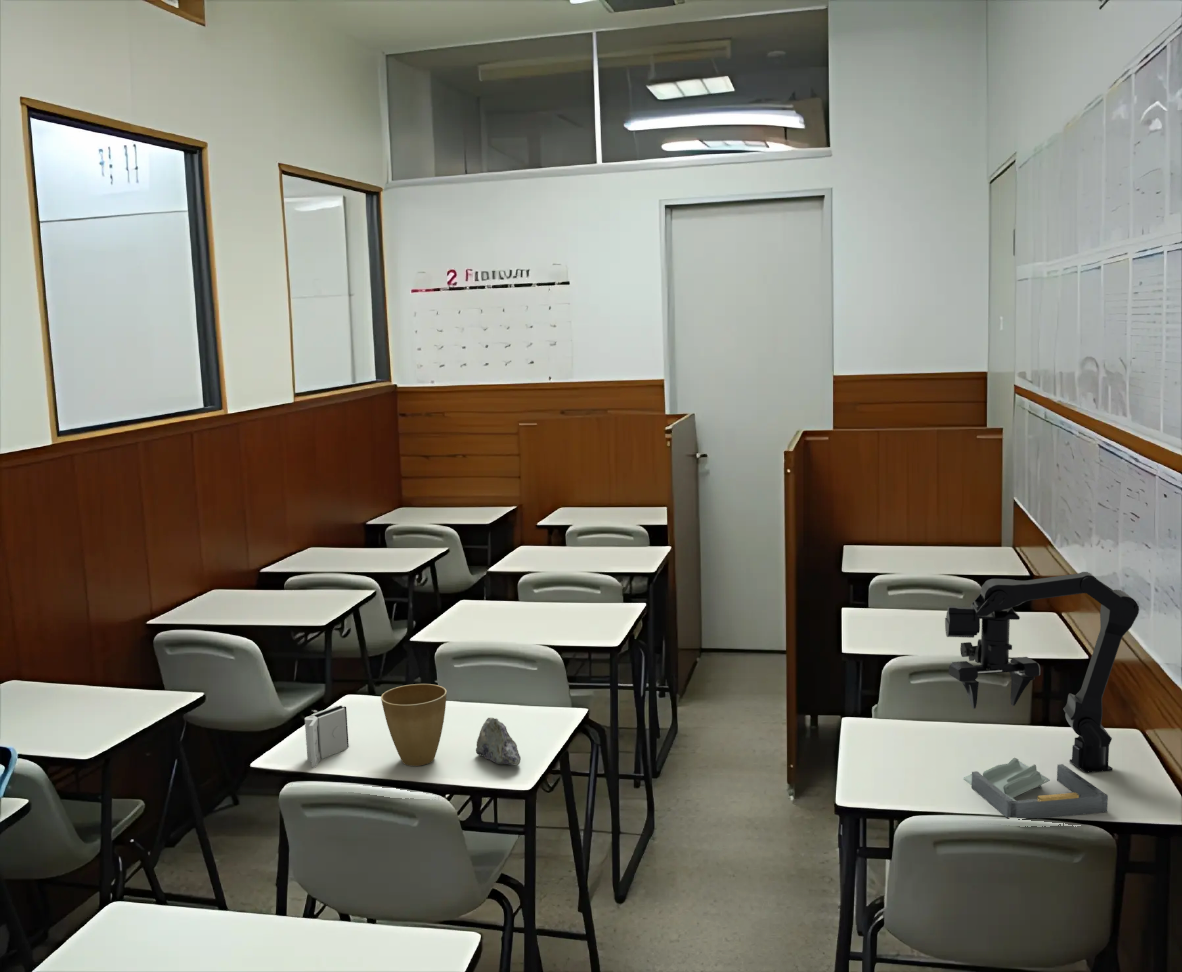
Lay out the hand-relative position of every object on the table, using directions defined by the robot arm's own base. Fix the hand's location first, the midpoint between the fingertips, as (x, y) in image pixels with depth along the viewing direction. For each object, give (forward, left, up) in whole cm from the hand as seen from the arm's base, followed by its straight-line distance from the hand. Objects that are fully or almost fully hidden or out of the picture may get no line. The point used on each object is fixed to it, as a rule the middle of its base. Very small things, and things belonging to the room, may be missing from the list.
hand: (993, 706), depth 242 cm
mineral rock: (+108, -23, -13) cm, 111 cm away
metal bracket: (+3, +14, -14) cm, 20 cm away
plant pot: (+126, -28, -13) cm, 130 cm away
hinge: (+148, -35, -13) cm, 152 cm away
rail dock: (0, +20, -13) cm, 23 cm away
